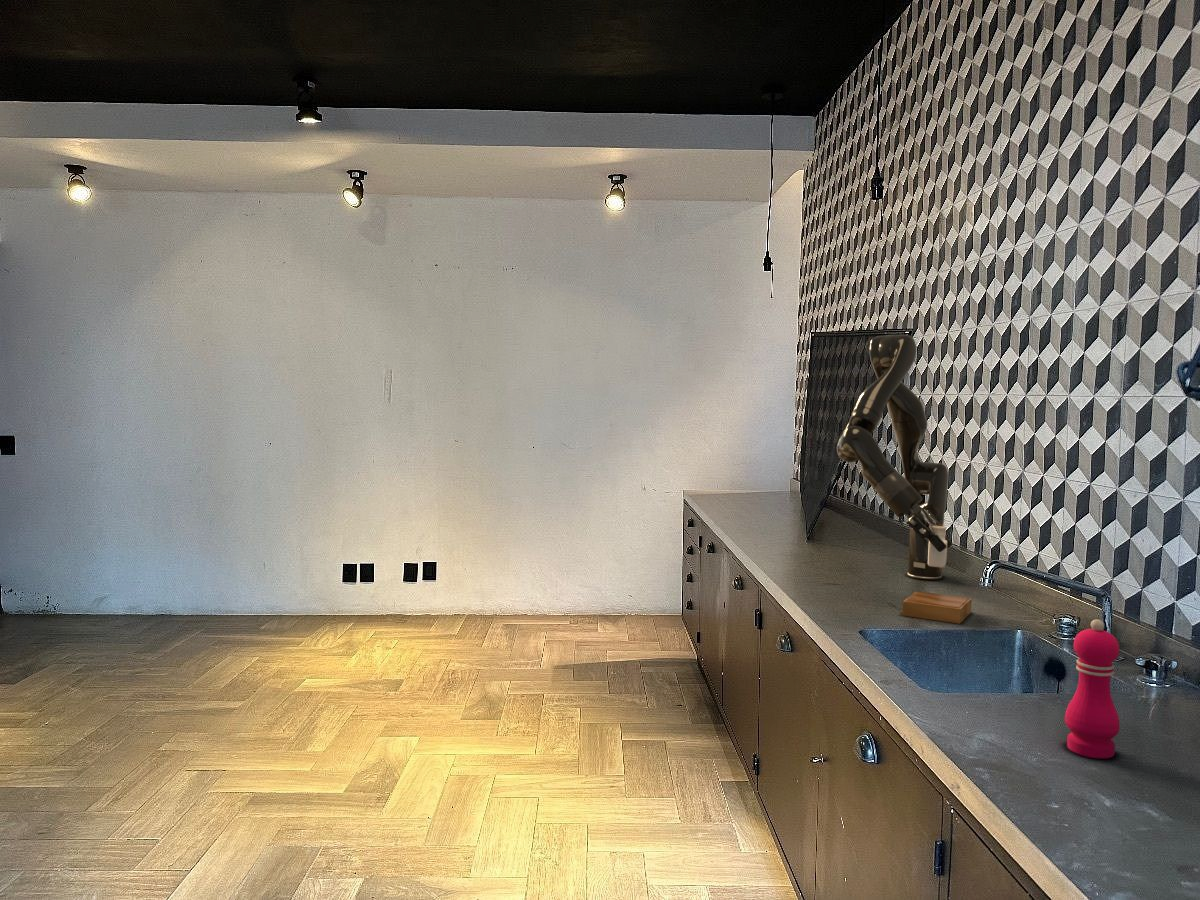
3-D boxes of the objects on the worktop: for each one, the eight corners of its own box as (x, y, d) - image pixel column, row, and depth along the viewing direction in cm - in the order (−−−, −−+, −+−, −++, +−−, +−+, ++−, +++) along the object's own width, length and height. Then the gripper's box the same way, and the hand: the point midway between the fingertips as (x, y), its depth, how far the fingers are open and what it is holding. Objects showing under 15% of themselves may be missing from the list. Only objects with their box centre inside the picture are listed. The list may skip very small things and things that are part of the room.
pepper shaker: (946, 565, 219) (948, 526, 219) (945, 568, 216) (947, 528, 215) (928, 563, 221) (930, 525, 220) (927, 566, 217) (929, 527, 217)
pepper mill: (1053, 741, 139) (1060, 613, 138) (1098, 740, 140) (1105, 613, 139) (1082, 761, 132) (1089, 626, 131) (1129, 760, 133) (1137, 625, 131)
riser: (916, 605, 228) (916, 590, 227) (970, 612, 221) (971, 597, 220) (902, 615, 217) (903, 600, 216) (959, 623, 210) (960, 608, 209)
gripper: (900, 486, 215) (950, 542, 209) (917, 481, 227) (965, 535, 221) (877, 506, 219) (926, 562, 213) (895, 500, 230) (942, 553, 224)
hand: (946, 548), depth 217 cm, fingers closed on pepper shaker, 4 cm apart
